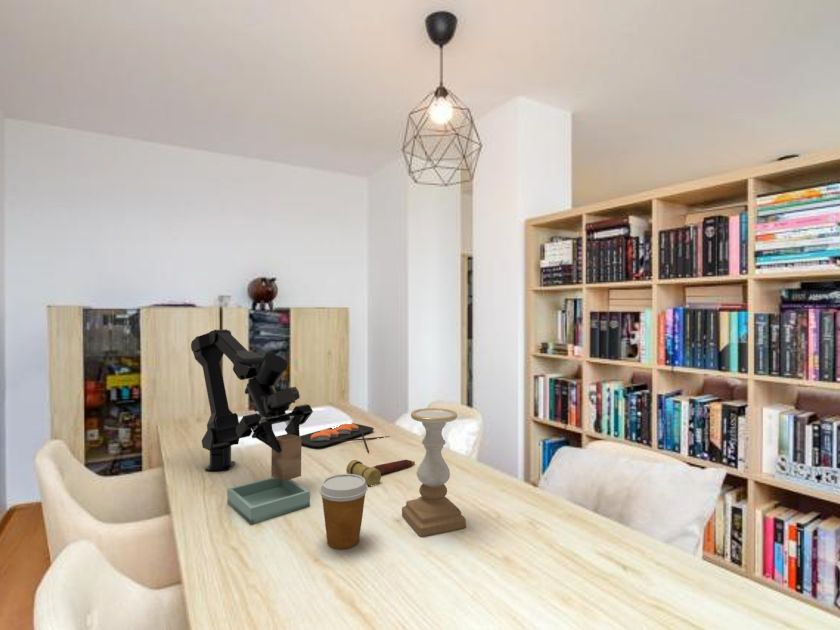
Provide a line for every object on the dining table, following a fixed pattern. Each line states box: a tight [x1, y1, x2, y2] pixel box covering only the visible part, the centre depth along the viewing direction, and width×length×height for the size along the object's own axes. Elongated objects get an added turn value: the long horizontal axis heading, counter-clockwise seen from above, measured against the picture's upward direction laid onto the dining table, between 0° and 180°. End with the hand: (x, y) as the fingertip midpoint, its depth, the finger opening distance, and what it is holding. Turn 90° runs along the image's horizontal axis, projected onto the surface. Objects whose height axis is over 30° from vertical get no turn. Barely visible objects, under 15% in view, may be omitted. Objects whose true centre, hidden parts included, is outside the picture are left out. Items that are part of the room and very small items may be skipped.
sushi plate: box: [300, 422, 391, 454], centre depth 159 cm, size 29×30×4 cm
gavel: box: [346, 459, 416, 487], centre depth 129 cm, size 21×5×10 cm
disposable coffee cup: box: [318, 473, 369, 550], centre depth 91 cm, size 10×10×12 cm
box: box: [226, 477, 311, 525], centre depth 107 cm, size 14×14×4 cm
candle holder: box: [401, 407, 467, 538], centre depth 100 cm, size 11×11×24 cm
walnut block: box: [270, 433, 302, 482], centre depth 110 cm, size 5×5×10 cm
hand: (289, 449), depth 109 cm, fingers closed on walnut block, 5 cm apart
